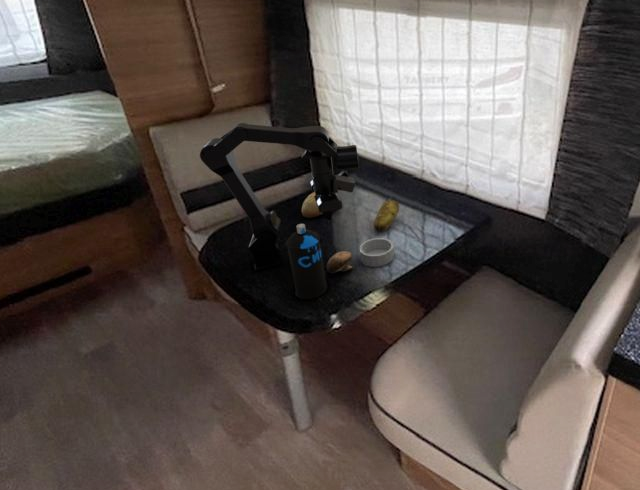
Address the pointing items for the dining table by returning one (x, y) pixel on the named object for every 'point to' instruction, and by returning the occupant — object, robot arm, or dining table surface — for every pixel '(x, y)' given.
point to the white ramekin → (376, 252)
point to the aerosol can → (306, 263)
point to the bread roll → (310, 207)
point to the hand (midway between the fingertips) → (329, 219)
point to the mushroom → (339, 262)
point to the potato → (386, 215)
